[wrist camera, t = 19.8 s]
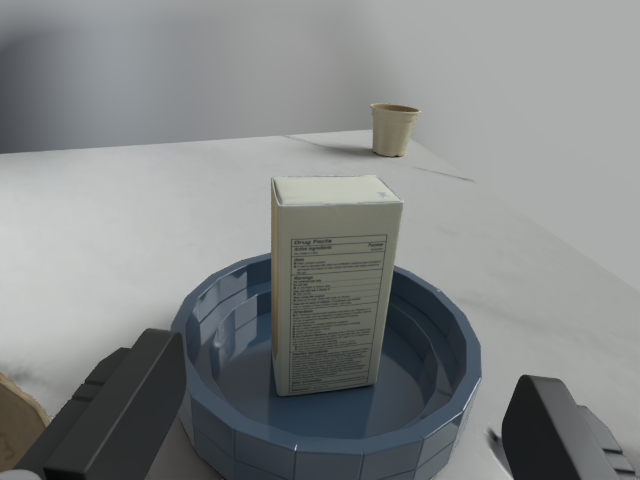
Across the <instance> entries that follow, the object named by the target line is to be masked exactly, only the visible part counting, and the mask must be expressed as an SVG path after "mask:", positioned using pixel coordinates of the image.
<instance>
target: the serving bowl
mask: <svg viewBox="0 0 640 480" xmlns="http://www.w3.org/2000/svg"><path fill="white" fill-rule="evenodd" d="M171 331H177V332H180V333H181V334H182V338H183V347H184V357H185V367H186V377H187V383H186V391H185V395H184V399H183V402H182V404H181V406H180V408H179V410H178V412H177V414H178V416H179V418H180V420H181V422H182V424H183V427H184V429H185V431H186V433H187V435H188V437H189V439H190V441H191V443H192V445H193V447H194V449H195V451H196V453H197V454H198V455H200V456H201V457H202V458H203V459H204V460H205V461H206V462H208V463H209V464H210V465H211V466H212V467H213V468H214V469H215V470H217V471H218V472H219V473H220V474H221V475H222V476H223V477H224V478H226V479H227V480H429V479H430V478H431V477H432V476H434V475H435V474H436V473H437V472H439V471H440V470H441V469H442V468H444V467H445V466H446V464H448V462H449V460H450V458H451V455H452V453H453V451H454V449H455V447H456V445H457V443H458V441H459V439H460V437H461V435H462V433H463V431H464V429H465V426H466V423H467V420H468V417H469V414H470V411H471V408H472V405H473V402H474V399H475V396H476V394H477V391H478V388H479V385H480V382H481V378H482V371H481V346H480V343H479V341H478V339H477V337H476V335H475V333H474V331H473V329H472V327H471V325H470V323H469V321H468V319H467V317H466V315H465V314H464V313H463V312H462V311H461V310H460V309H459V308H458V307H457V306H456V305H455V304H454V303H453V302H452V301H451V300H450V299H449V298H448V297H447V296H446V295H445V294H444V293H443V292H442V291H440V290H439V289H437V288H436V287H434V286H433V285H431V284H429V283H428V282H426V281H424V280H423V279H421V278H420V277H418V276H416V275H415V274H413V273H411V272H410V271H407V270H405V269H402V268H399V267H397V266H394V269H393V276H392V282H391V289H390V295H389V302H388V308H387V315H386V322H385V328H384V335H383V341H382V347H381V354H380V361H379V367H378V373H377V380H376V383H375V384H373V385H367V386H360V387H354V388H347V389H340V390H333V391H325V392H317V393H310V394H301V395H292V396H279V395H278V394H277V390H276V383H275V376H274V368H273V360H272V350H271V253H268V254H264V255H260V256H256V257H252V258H248V259H244V260H241V261H239V262H236V263H234V264H232V265H230V266H228V267H226V268H224V269H222V270H220V271H218V272H216V273H214V274H212V275H211V276H209V277H208V278H207V279H206V280H205V281H203V282H202V283H201V284H200V285H199V286H198V287H197V288H195V289H194V290H193V291H192V292H191V293H190V294H189V295H187V297H186V298H185V299H184V301H183V303H182V305H181V307H180V309H179V311H178V313H177V315H176V317H175V319H174V321H173V322H172V324H171Z"/></svg>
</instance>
